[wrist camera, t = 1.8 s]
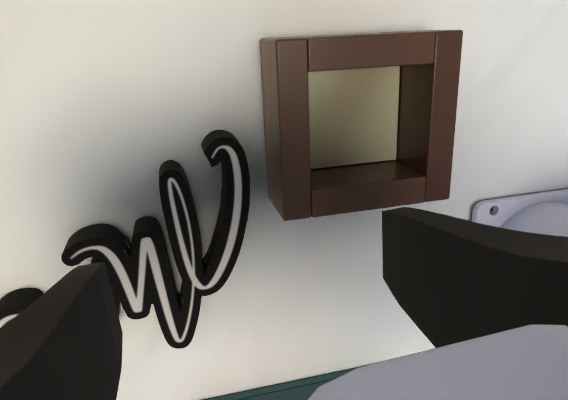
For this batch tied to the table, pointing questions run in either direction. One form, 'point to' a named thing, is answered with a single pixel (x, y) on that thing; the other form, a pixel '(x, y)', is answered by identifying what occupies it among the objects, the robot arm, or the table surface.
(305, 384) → the holder
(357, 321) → the table surface
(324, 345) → the table surface
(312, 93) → the frame
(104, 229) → the nameplate
